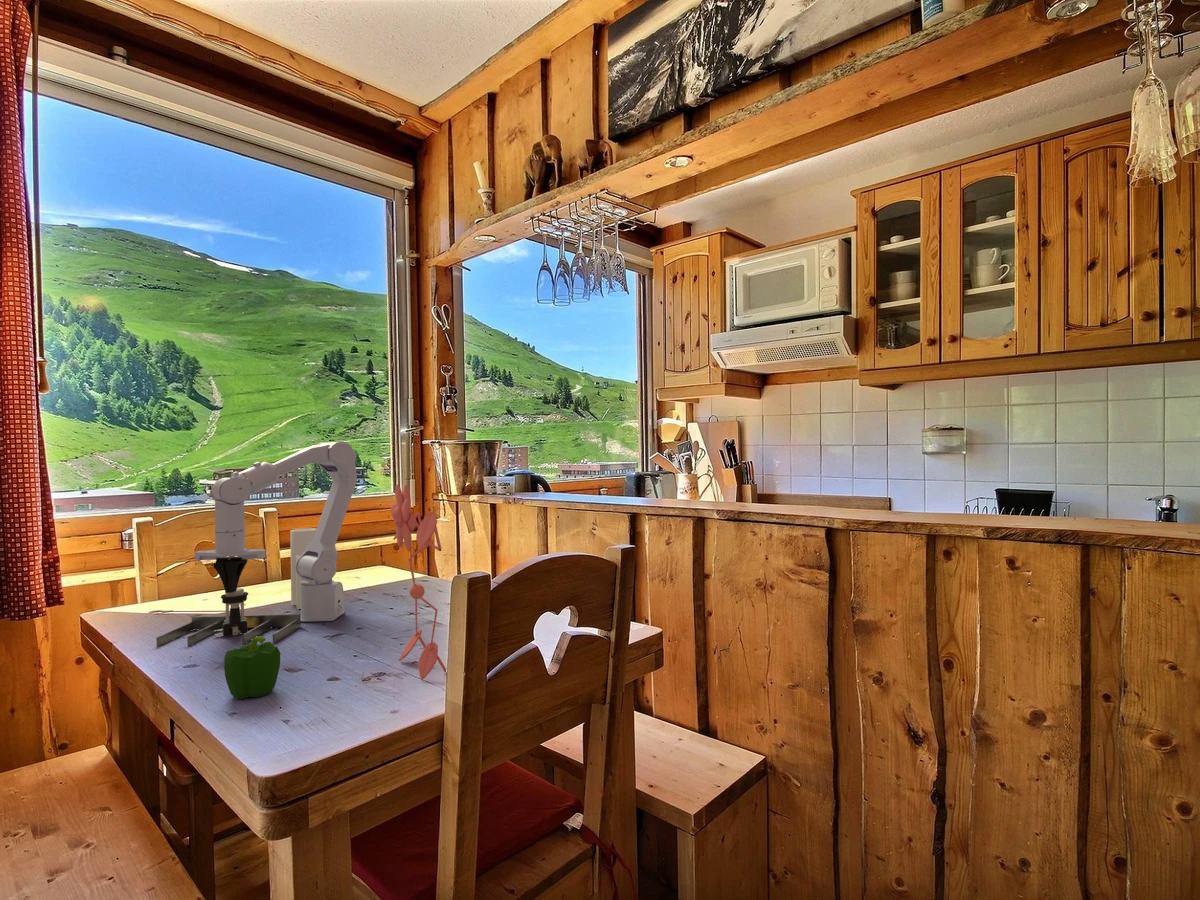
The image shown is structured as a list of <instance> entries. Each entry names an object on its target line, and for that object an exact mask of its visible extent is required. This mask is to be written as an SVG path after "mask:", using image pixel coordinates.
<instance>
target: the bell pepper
mask: <svg viewBox="0 0 1200 900" xmlns="http://www.w3.org/2000/svg"><path fill="white" fill-rule="evenodd" d="M258 642H259V643H260V644H258ZM223 666H224V668H223V670H224V677H225V680H226V683H227V688H228V690H229V692H230V695H231V696H232V697H233V698H234V699H238V700H241V699H247V698H257V697H259V698H260V697H264V696H267V695H268V694H270V693H272V692H273V690H274V688H275V687H276V685H277V679H278V675H279V671H280V666H281V651H280V650H279V648H278V646H275V644H274V643H273V642H271V641H266V638H265V637H263V636H262V635H259V636H257V637H255V638H253V639H252V640H251V641H250V642H247V643H246V644H243V645H242V646H240V647H239V648H234V649H230V650H227V651H226V653H225V655H224V657H223Z"/></svg>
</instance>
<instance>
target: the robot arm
mask: <svg viewBox="0 0 1200 900" xmlns="http://www.w3.org/2000/svg"><path fill="white" fill-rule="evenodd" d="M356 460H357V453H356V451H355V450H354V449H353V447H352V445H350V443H348V442H346V441H342V440H341V441H333V442H331V441H330V442H328V441H322V442H319V443H318V444H313V445H311V446H308V447H304V448H303V449H301V450H299V451H297V452H294V453H293V454H290V455H289V456H286V457H285V458H283V459H280V460H278V461H276V462H274V463H269V462H266V461H263V462H260V461H256V462H254V463H253V462H252V467H249V468H247V469H244V470H242V471H234V472H232V473H231V477H223V478H218V480H216V481H215V482H214V484H212V487H211V489H210V490H209V495H210V497H211V498H212V500H213V501H214V531H215V532H214V543H215V544H214V549H211V550H198V551H194V562H195V561H196V562H197V561H198V562H200V561H210V560H211V561H213V560H214V561H215V560H216V561H215V562H213V563H212V567H213V568H214V570H215V571H216V572H217V574H218V575H219V578H220V580H221V582H222V585H223V588H224V591H225V593H232V592H235V591H236V590H237V588H238V585H239V580H240V578H241V576H242V573H243V570H245V566H246V565H247V563H248V562H249V561H248V560H263V559H266V557H267V553H266V550H267V549H260V548H258V549H256V548H255V549H253V548H246V528H245V527H246V523H245V522H246V521H245V516H246V515H245V514H246V513H245V512H246V511H245V501H246V500H247V498H248V497H249V496H252V495H254V494H256V493H258V492H261V491H262V490H263V491H264V489H267V488H269V487H272V486H274V485H276V484H277V483H278V482H279V478H280V476H282V475H285V474H287V473H290V472H291V473H292V472H293V471H294V470H298V469H299V468H303V467H306V466H307V465H310V464H317V465H318V466H319V467H321V468H322V469H323V470H324V471H326V473H327V474H328V476H329V477H330V479H331V481H332V483H331V486H330V489H329V492H328V494H327V498H326V501H325V504H324V507H323V508H322V512H321V514H320V518H319V521H318V524H317V527H316V532H315V535H314V538H313V541H312V542H311V543H310V544H309V545H308V546H307V547H306V548H305V551H304V553H303V554H302V556H301V557H300V558H299V559H298V560H297V562H296V566H295V569H296V572H297V574H298V575H299V576H300V577H301V580H300V609H301V610H300V614H301V623H305V622H308V623H309V622H333V621H335V620H336V619H338V618H339V617H340V616H342V615H343V614H344V613H345V612H346V611H345V610H344V608H345V607H344V606H345V605H344V586H343V583H342V582H341V581H334V580H333V578H334V577H335V575H336V573H337V571H338V569H337V567H338V566H337V559H338V556H339V554H338V551H337V548H336V543H337V541H338V538H339V535H340V531H341V530H342V529H341V528H342V526H343V522H344V520H345V517H346V514H347V511H348V508H349V505H350V503H351V499H352V496H353V493H354V490H355V487H356V484H357V480H358V474H357V466H356ZM225 593H224V594H225Z"/></svg>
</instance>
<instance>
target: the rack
mask: <svg viewBox="0 0 1200 900" xmlns="http://www.w3.org/2000/svg"><path fill="white" fill-rule="evenodd" d="M244 617H245V618H246V619H245V620H246V621H247V628H253V629H249V631H248V632H247V633H245V634H241V639H242V641H241V644H242V645H245V644H244V643H246V642H247V643H249V642H251V641H250V640H251V639H253V638H255V637H256V636H258V635H259V636H261V635H262V634H264V633H266V632H267V631H269V630H271V629H272V628H271V627H284V628H280V629H279V630H278V631H275V632H274V633H272V644H276V643H278V642H279V641H281V640H283V639H284V638H285V637H287V636H289V635H290V634H291V633H293V632H295V631H296V630H298V629H299V628H301V627H300V626H301V623H302V622H301V613H281V614H280V613H279V614H275V613H274V614H246V615H245V614H244ZM240 619H241V614H240ZM225 620H226V615H203V616H191V621H190V622H188V623H186V624H183V625H180V626H179V627H177V628H174V629H172V630H169V631H168V632H165V633H163V634H161V635H158V636H156V647H157V646H159V647H161V646H163V645H165V644H167V643H169V642H168V641H170V640H172V639H174V638H176V637H178V636H180V637H182V636H184V635H186V634H188V633H190V632H189V631H191V630H193V629H202V630H197V631H196V632H194V633H192V634H190V635H188V636H187V641H186V642H187V646H188V645H190V646H192V645H194V644H196V643H198V642H200V641H201V639H202V640H203V638H204V639H206V638H207V636H208V637H209V635H210V636H211V634H212V635H213V633H214V634H216V633H217V632H216V631H214V630H220V629H223V624H224V623H225V622H224V621H225ZM241 621H242V620H241ZM229 622H230V615H229ZM229 622H226V623H229ZM255 627H256V628H255ZM270 628H271V629H270ZM297 628H298V629H297ZM268 629H269V630H268ZM266 630H267V631H266ZM294 630H295V631H294ZM193 631H194V630H193ZM265 631H266V632H265ZM187 632H188V633H187ZM191 632H192V631H191ZM215 632H216V633H215ZM263 632H264V633H263ZM185 633H186V634H185ZM261 633H262V634H261ZM183 634H184V635H183ZM260 634H261V635H260ZM181 635H182V636H181ZM286 635H287V636H286ZM205 637H206V638H205ZM283 637H284V638H283ZM178 638H179V637H178ZM176 639H177V638H176ZM280 639H281V640H280ZM174 640H175V639H174ZM199 640H200V641H199ZM172 641H173V640H172ZM197 641H198V642H197ZM248 641H249V642H248ZM277 641H278V642H277ZM166 642H167V643H166ZM170 642H171V641H170ZM195 642H196V643H195ZM275 642H276V643H275ZM164 643H165V644H164ZM193 643H194V644H193ZM247 643H246V644H247ZM162 644H163V645H162ZM191 644H192V645H191ZM160 645H161V646H160Z"/></svg>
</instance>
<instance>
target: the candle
mask: <svg viewBox="0 0 1200 900" xmlns="http://www.w3.org/2000/svg"><path fill="white" fill-rule="evenodd" d="M316 529H317V527H316V528H315V527H314V528H311V527H309V528H306V527H305V528H295V529H292V530H290V532H289V533H290V535H289V536H290V543H289V545H290V598H291V599H290V602H291V603H290V605H291V604H292V605H291V606H293V605H297V606H296V610H298V609H300V580H301V577H300V576H299V575H298V574H297V572H296V569H295V566H296V562H297V560H298V559H299V558H300V557H301V556H302V554H303V553H304V551H305V548H306V547H307V546H308V545H309V544H310V543H311V542H312V541H313V538H314V535H315V532H316Z"/></svg>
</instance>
